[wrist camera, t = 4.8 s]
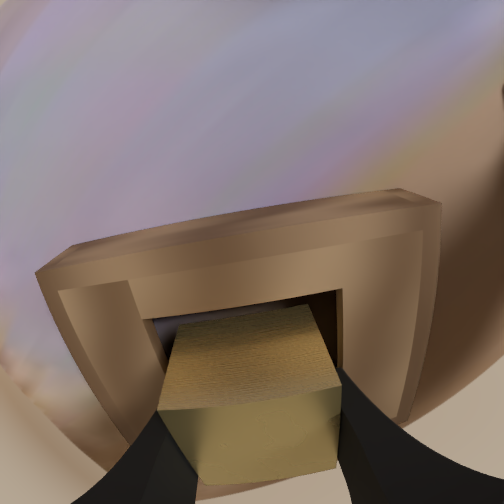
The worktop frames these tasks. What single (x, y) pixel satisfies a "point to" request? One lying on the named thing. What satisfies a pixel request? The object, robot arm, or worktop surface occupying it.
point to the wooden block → (253, 397)
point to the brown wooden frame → (254, 291)
